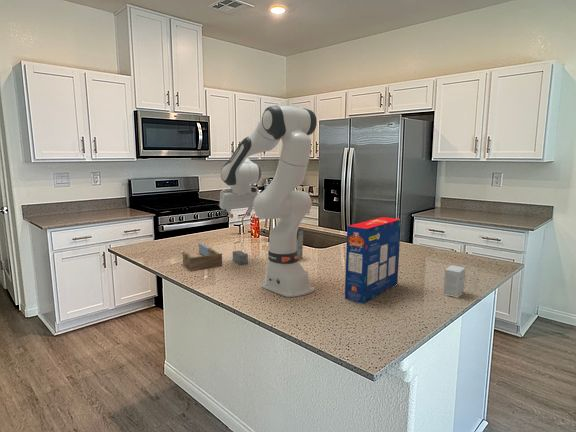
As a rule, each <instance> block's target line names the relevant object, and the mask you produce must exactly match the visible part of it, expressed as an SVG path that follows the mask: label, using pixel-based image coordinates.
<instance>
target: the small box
mask: <svg viewBox="0 0 576 432" xmlns="http://www.w3.org/2000/svg"><path fill="white" fill-rule="evenodd" d="M465 276H466V267H463V266H460V265H459V266H458V265H453V264H450V266H448V267H447V268H446V269H445V270H444V282H443V293H444V294H449V295H454V296H459V295H460V294H461V293H462V292H463V293H464V289H465V278H466V277H465ZM443 293H442V294H443ZM463 293H462V294H463ZM462 294H461V295H462ZM461 295H460V296H461ZM460 296H459V297H460Z"/></svg>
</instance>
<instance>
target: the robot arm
mask: <svg viewBox="0 0 576 432" xmlns="http://www.w3.org/2000/svg"><path fill="white" fill-rule="evenodd" d="M317 124H318V122H317V116H316V114H315V112H314V111H312V110H310V109H308V108H301V107H297V106H296V107H295V106H292V105H270V106H268V107H266V108H265V109H264V111H263V113H262V116H261V118H260V119H259V121H258V123H257V125H256V126H255V129H254V130H253V131H252V132H251V133H250V134H249V135H248V136H246V137H244V138H243V139H242V140H241V141H240V143H239V144H238V145H237V147H236V149H235V150H234V151H233V152H232V153H233V154H232V155H230V156H231V157H230V158H229V159H228V161H227V162H225V163H224V165H223V166H222V168H221V170H220V177H221V178H220V179H221V181H222V182H224V183H225V184H226V185H227V186H230V188H228V189H222V190H221V191H220V192H219V208H220V209H221V210H226V212H227V213H228V217H229V219H232V218H234V214H233V213H232V212H231V211H232V209H243V208H244V209H245V208H246V209H247V208H248V211H246V216H247V217H251V213H252V212H253V211H254V213H255V215H256V216H257V217H258V218H259V219H264V220H276V219H279V220H278V223H277V225H276V226H274V227H273V228H272V229H271V230H270V232H269V246H268V247H269V250H268V252H267V259H268V264H267V265H266V266H265V272H264V273H265V276H264V283H262V288H263V289H265V290H268V291H270V292H273V293H276V294H278V295H281V296H284V297H285V298H293V297H301V296H304V295H309V294H311V293H313V292H314V291H316V289H315V287H314V286H313V285H311V284H310V282H309V273H308V271H307V270H305V269H304V268H303V266H302V265H301V262H300V260H299V258H298V257H299V256H298V254H297V251H296V239H297V231H298V228H300V224H301V223H302V221H303V219H304V217H306V215H307V214H309V213H310V211H311V209H312V206H313V205H312V204H313V203H312V202H313V201H312V198H311V196H310V194H309V193H308V192H306V191H302V190H298V189H296V188H298V187H300V186H301V185H302V184H303V182H304V180H305V178H306V177H305V176H306V172H307V168H308V166H309V161H310V155H311V150H312V149H311V148H312V139H311V137H310V136H311V135H312V134H313V133H314V132H315V131H316V129H317ZM280 141H281V142H282V146H281V147H282V148H281V151H280V155H279V159H278V164H277V168H276V171H275V174H274V176H273V179H272V180H271V182H270V183H269V184H268V185H267V187H266V188H265V189H264V190H262V191H261V192H260V193H259V188H258V187H255V186H253V185H251V184H257V183H258V182H259V181H260V180H261V178H262V169H261V167H260V166H259V164H258V163H254V162H253V161H251V159H250V157H251V156H254V155H256V154H257V155H258V154H261V153H266V152H269V151H272V150H273V149H275V148H276V147H277V146H278V145H279V143H280ZM298 260H299V261H298Z"/></svg>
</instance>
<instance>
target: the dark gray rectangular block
mask: <svg viewBox="0 0 576 432" xmlns="http://www.w3.org/2000/svg"><path fill="white" fill-rule="evenodd" d="M232 262H234V263H236V264H237V263H238V265H239V266H244V264H245V265H248V264H249V255H248V253H245V252H243V251H242V250H233V251H232Z"/></svg>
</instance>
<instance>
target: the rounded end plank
mask: <svg viewBox="0 0 576 432" xmlns="http://www.w3.org/2000/svg"><path fill="white" fill-rule="evenodd" d="M210 248H211V247H209V246H207V245H205V244H204V243H200V242H199V243H198V253H199V254H201V255H202V256H206V255H208V249H210Z"/></svg>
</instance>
